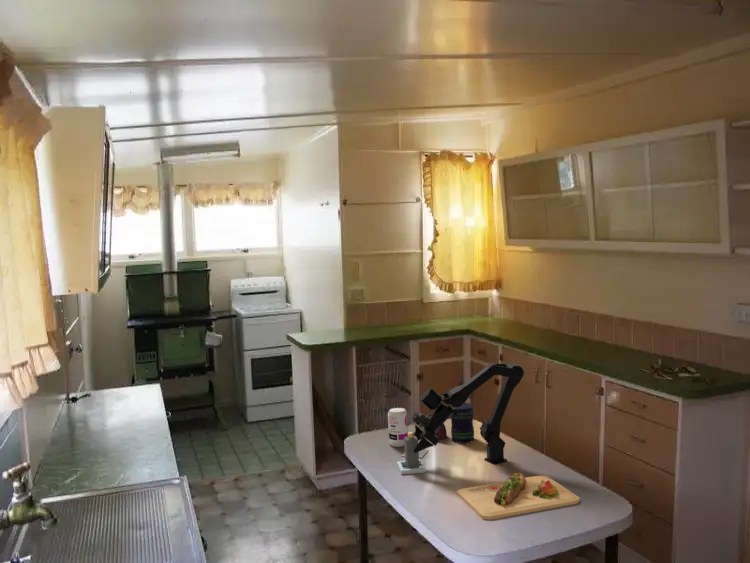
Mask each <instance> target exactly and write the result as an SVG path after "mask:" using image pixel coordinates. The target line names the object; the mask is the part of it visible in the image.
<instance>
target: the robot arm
mask: <svg viewBox="0 0 750 563" xmlns="http://www.w3.org/2000/svg"><path fill="white" fill-rule="evenodd" d="M524 375H525V371H524V369H523V367H522V366H520V365H518V364H516V363H515V362H509V363H494V362H490V363H488V364H487V365H486V366H485V367H484V368H483V369H482V370H480V371H479V372H477V373H476V374H475V375H473V376H472V377H471V378H469V379H468V380H467V381H465V382H464V383H463V384H461V385H457V386H455V387H453V388H452V389H450V390H449V391H447V392H444V393H441V394H439V393H438V392H437V391H435V389H434V388H433V387H429V389H428V388H427V389H426V390H425V391H423V392H422V394H421V395H420V396H419V402H421V404H422V405H424V406H425V407H426V408H427V409H429V411H431V410H434V411H433V412H432V413H431V412H430V413H429V412H428V414H424V413H422V412H419V411H415V410H413V412H412V415H411V416H412V417H410V418H411V420H412V422H414V423H415V424H414V432H413V433H414V436H416V437H417V439H418V444H417V446H416V448H415V449H414V452H415V453H417V452H419V451H421V450H427V449H429V448H431V447H436V446H437V445H438V444H439V441H440V440H439V439H438V437H437V436H436V434H437V433H436V432H437V430H438V429H439V428H440V427H443V426H444V425H445V422H446V421H447V420H448V419H449V418H450V416H451V414H454V415H455V416H457V409H456V408H452V407H451V406H450V405H452V406H453V407H460V406H462V405H463V404H464V403H466V402H467V400H468V399H469V397H470V396H471V395H472V393H473V392H475V391H476V390H477V389H479V388H480V387H481V386H482V385H484V384H485V383H486V382H488V381H490V380H491V378H494V377H495V376H501V377H502V384H501V388H500V389H499V390H500V391H499V393H498V395H497V398H496V400H495V403H494V406H493V408H492V411H491V414H490V416H489V418H488V419H487V420H486V419H482V421H481V422H482V423H481V426H480V427H479V430H480V433H479V434H480V436H481V437H482V439H483V440H484V441H485V442H486V457H485V458H484V459H483V460H484V461H487V462H489V463H491V464H493V465H497V464H501V463H504V462H507V461H508V459H507V458H505V456H504V455H505V452H504V451H505V450H504V449H505V446H506V442H505V441H504V440H503V439H502V438H501V437H500V435H501V425H502V421H503V418H504V415H505V412H506V410H507V407H508V404H509V402H510V400H511V397H512V395H513V391H514V389H516V387H517V386H518V385H519V384H520V382H521V380H522V379H523V377H524ZM443 423H444V425H443Z"/></svg>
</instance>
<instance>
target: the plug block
mask: <svg viewBox="0 0 750 563" xmlns="http://www.w3.org/2000/svg"><path fill="white" fill-rule="evenodd" d="M404 443H405V446H404V452H405V457H404V458H405V460H404V461H405V462H406V466H405V469H411V468H420V464H419V459H420V458H419V452H417V453H415V452H414V449H415V448H416V446H417V444H418V443H419V441H418V439H417V437H416V436H414V432H411V431H408V437H404Z"/></svg>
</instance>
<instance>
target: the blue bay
mask: <svg viewBox="0 0 750 563" xmlns="http://www.w3.org/2000/svg"><path fill="white" fill-rule="evenodd" d="M419 465H422V460H421V458H419ZM396 466H397V467H398V470H399V473H400V474H401V475H410V474H411V475H412V474H421V473H426V467H425V466H423V467H422V466H421V467H419V468H411V469H406V468H404V467H406V462H405V460H399V461H396Z"/></svg>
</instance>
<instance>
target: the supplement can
mask: <svg viewBox="0 0 750 563" xmlns="http://www.w3.org/2000/svg"><path fill="white" fill-rule="evenodd" d="M387 425H388V427H387V428H388V441H389V442H388V443H389V445H391V447H394V448H400V447H402V448H403V447H405V443H404V437H408V433H409V429H408V428H409V427H408V412H407V409H406V408H404V407H392V408H390V409H389V410H388V412H387Z"/></svg>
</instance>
